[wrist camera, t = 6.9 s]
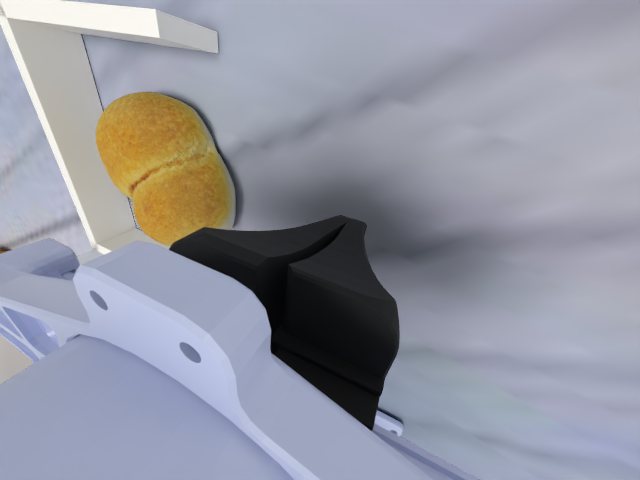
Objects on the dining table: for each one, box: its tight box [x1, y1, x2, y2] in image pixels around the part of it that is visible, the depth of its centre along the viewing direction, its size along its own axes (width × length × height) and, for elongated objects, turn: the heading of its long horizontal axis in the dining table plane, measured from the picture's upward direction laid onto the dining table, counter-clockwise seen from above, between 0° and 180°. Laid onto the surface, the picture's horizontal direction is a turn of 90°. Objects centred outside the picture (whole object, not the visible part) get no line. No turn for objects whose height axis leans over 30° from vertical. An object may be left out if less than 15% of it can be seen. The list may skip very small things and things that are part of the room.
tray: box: [0, 0, 219, 254], centre depth 15 cm, size 15×11×3 cm
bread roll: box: [96, 92, 236, 246], centre depth 14 cm, size 8×9×4 cm
